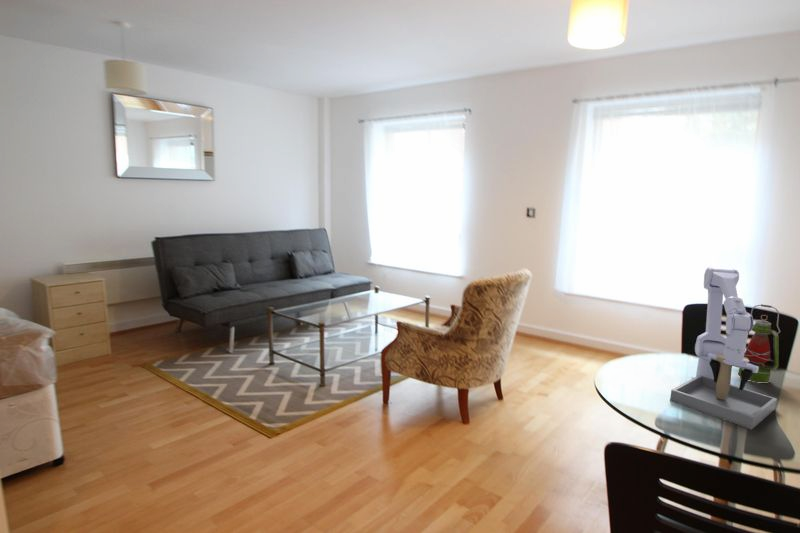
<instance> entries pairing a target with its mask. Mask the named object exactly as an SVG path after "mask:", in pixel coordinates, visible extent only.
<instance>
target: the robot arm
mask: <svg viewBox="0 0 800 533" xmlns="http://www.w3.org/2000/svg"><path fill="white" fill-rule="evenodd" d="M739 280H740V273H739V270H738V269H737V268H722V267H712V266H709V267H707V268H706V269H705V272H704V275H703V288H704V289H706V290H707V307H706V308H707V309H706V322H705V332H703V333H701V334H700V335H698V336H697V338H696V342H695V344H694V352H695V354H696V355H697V357H698V360H697V361H698V362H697V368H696V374H695V375H693V376H691V379H693V378H695V377H696V376H698V375H702V376H705V377H708V378H711V379H714V382H717V378H718V374H719V369H720V362H719V361H718V360H717V357H716V355H723V358H724V359H726V360H723V362H724V363H726V364H729V365H732V367H735V368H738V369H739V368H742V369H744V370H743V371H741V378H740V383H739V386H738V387H739V390H743V389H745V386H746V384H747V382H749V381H748V379H749V378H750V377H751V376H752V374H753V373H757V372H758V369H759V366H755V365H752V364H750V363H747V361H745V360H744V358H745V356H744V355H745V352H746V346H747V341H748V337H749V334H748V332H749V333H751V331H753V330H752V328H753V326H754V318H753V314H752V315H751V313H750V312H748V311H747V310H746V307H745V303H744V301H743V298H740V297H739V296H738V293H737V292H738V291H737V285H738V282H739ZM723 307H724V311H725V313H726V318H725V334H726V337H724V336H723V335H722V334H721V333H722V332H721V330H722V319H723V318H722V316H723Z"/></svg>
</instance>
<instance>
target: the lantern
mask: <svg viewBox="0 0 800 533" xmlns="http://www.w3.org/2000/svg"><path fill="white" fill-rule="evenodd" d="M756 307H761V308H762V307H764V308H768V309H774V310H775V311H776V312H777V318H776V319H777V320H776V327H777V329H778V332H777V331H776V330H774V329H772V326H771V325H772V323H771V322H769V321H767V320H768V318H769V317H768V315H766V314H761V315H760V319H758V320H755V321H754V322H755V323H754V325H753V328H752V330H751V331H752V332H754V334H753V335H752V337H751V339H750V341H749V342H748V344H747V345H746V348H745V354H744V357H745V358H747V360H748V362H747V361H746V362H747V363H750V364H752V365H755V366H759V369H758V372H757V373H753V374H752V376H751V377H750V378H749V379H748V380H751V381H755V382H768V381H769V380H770V378H771V374H772V373H771V372H772V371H776V370H777V369H778V367H779V356H780V355H779V353H780V352H779V334H780V333H781V330H780V327H779V320H780V319H779V318H780V312H779V310H778V309H777V307H774V306H772V305H769V304H762V303H761V304H758V305H754V306H753V307H752V308H751V311H750V315H752V316H753V310H754V309H755V308H756ZM763 316H766V318H765V319H763ZM749 334H750V332H748V335H749ZM769 335H772V336H773V338H772V341H773V345H772V348H773V350H772V351H773V352H772V356H773V359H771V344H770V340H769V339H770V338H769ZM769 361H771V362H773V363H772V366H765V365H764V364H765V363H767V362H769ZM743 370H744V369H742V368H738V372H737V373H738V375H739V376H740V377H741V371H743ZM740 377H739V378H740Z"/></svg>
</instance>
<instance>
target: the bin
mask: <svg viewBox="0 0 800 533" xmlns="http://www.w3.org/2000/svg"><path fill="white" fill-rule="evenodd" d="M716 383H717V382H714V379H711V378H708V377H705V376H702V375H698V376H696V377H695V378H693V379H692V378H691V379H689V380H687V381H685V382H683V383H681V384H679V385H678V386H676V387H674V388H672V389H670V390H671V391H670V398H669V401H670V402H673V403H676V404H679V405H681V406H684V407H687V408H690V409H693V410H695V411H698V412H701V413H703V414H706V415H709V416H712V417H715V418H718V419H721V420H723V419H725V420H727V421H726V422H728V421H731V422H733V423H732V424H734V423H735V424H734V425H736V424H737V425H736V426H739V427H743V428H745V429H748V430H753V429H754V428H756V427H757V426H758V425H759V424H760V423H761V422H763V421H764V420H765V419H766V418H767V417H768V416H770V415H771V414H772V413H773V412H775V410H776V407H777V402H778V398H776V397H773V396H770V395H766V394H763V393H759V392H756V391H753V390H751V389H747V388H744V389H743V390H739V387H740V386H737V385H734V384H731V383H730V389H729V393H728V395H727V399H726V400H722V399H718V398H716V394H717V393H716ZM725 420H724V421H725ZM731 422H730V423H731Z"/></svg>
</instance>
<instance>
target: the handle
mask: <svg viewBox="0 0 800 533" xmlns="http://www.w3.org/2000/svg"><path fill="white" fill-rule="evenodd" d="M716 357H717V360H718V361H719V362H720V369H719V374H718V378H717V383H716V393H717V394H716V398H718V399H722V400H726V399H727V395H728V393H729V389H730V384H731V380H732V371H733V370H732V369H733V366H732V365H729V364H726V363H724V362H723V360H726V359H724V358H723V355H716Z"/></svg>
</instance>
